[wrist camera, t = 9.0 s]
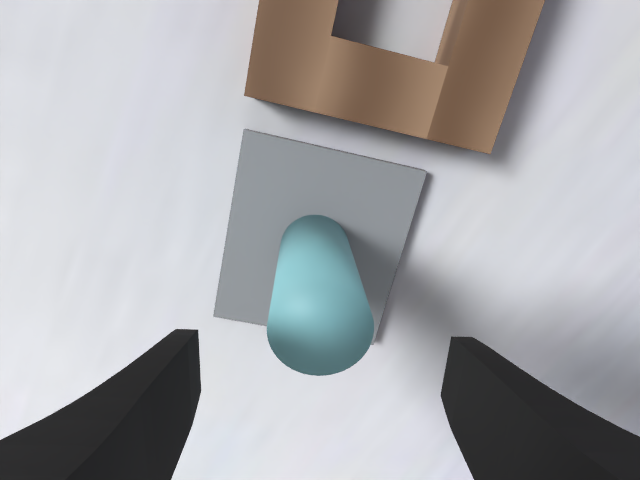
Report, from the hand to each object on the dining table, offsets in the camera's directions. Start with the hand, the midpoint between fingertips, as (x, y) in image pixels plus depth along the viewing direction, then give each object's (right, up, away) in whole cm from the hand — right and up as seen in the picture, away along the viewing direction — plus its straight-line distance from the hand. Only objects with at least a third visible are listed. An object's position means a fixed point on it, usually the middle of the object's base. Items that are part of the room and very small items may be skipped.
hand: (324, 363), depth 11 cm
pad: (0, +3, +10) cm, 10 cm away
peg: (0, +3, +9) cm, 10 cm away
